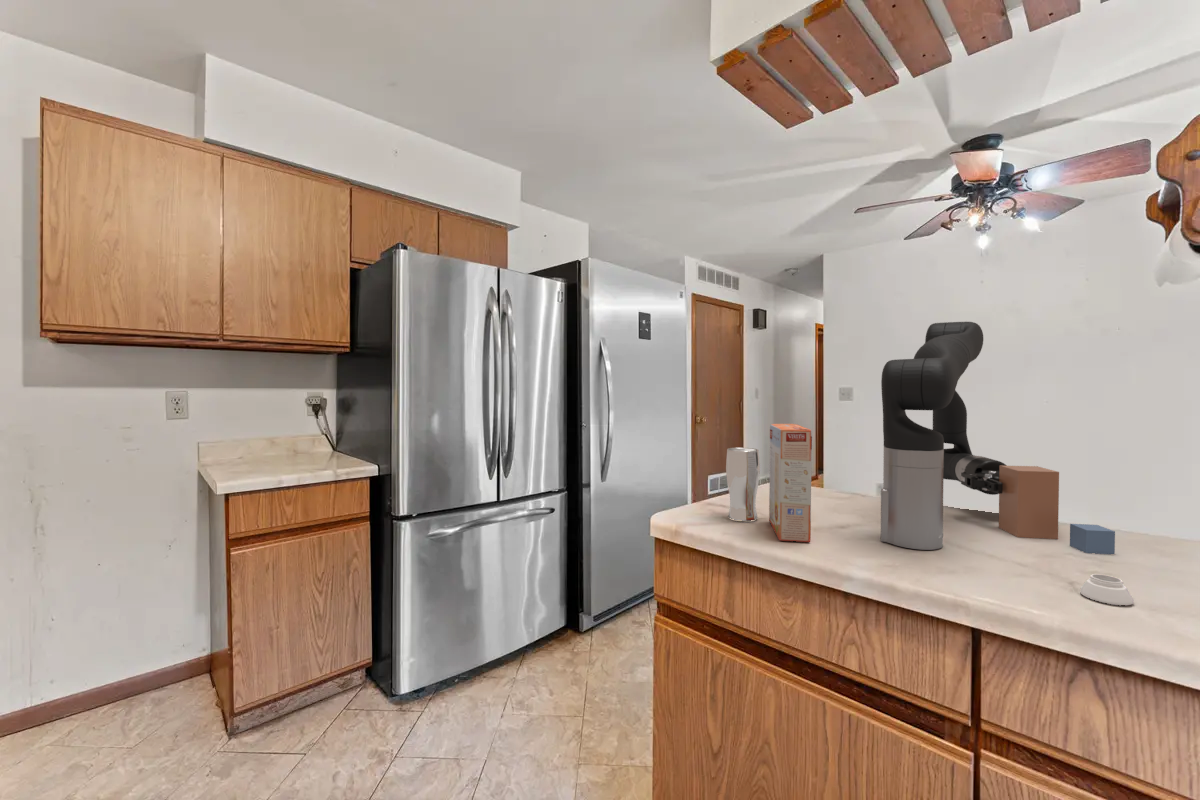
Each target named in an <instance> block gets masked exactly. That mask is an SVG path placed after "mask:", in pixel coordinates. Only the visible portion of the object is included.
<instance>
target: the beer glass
mask: <svg viewBox="0 0 1200 800" xmlns="http://www.w3.org/2000/svg"><path fill="white" fill-rule="evenodd" d="M759 453H760V452H759V449H757V448H750V447H730V448H729V447H728V448H727V449H726V463H725V464H726V465H725V471H726V473H725V475H726V483H727V488H728V493H729V502H730V503H729V508H728V509H729V510H728V516H727V517H729V518H731V519H734V520H742V521H751V520H755V519H757V518H759V517H758V512H757V507H756V501H757V494H758V489H759V482H760V471H761V470H760V468H761V467H760V466H761V465H760V464H761V463H760V455H759ZM729 518H728V519H729ZM757 520H758V519H757Z"/></svg>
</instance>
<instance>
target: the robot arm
mask: <svg viewBox="0 0 1200 800" xmlns="http://www.w3.org/2000/svg"><path fill="white" fill-rule="evenodd" d="M983 345H984V333H983V329H982V327H981V326H980V325H979V324H978V323H976V322H973V321H949V322H948V321H947V322H945V321H944V322H935V323H931V324H930V325H929V326H928V328H927V330H926V334H925V339H924V343H923V345H921V346H920V347H919V349H918V350H917V351H916V352H915V354H914V357H913V358H907V359H906V358H904V359H902V358H900V359H891V360H888V361H887V362H886V363H885V364H884V366H883V368H882V371H881V383H880V384H881V402H882V403H881V404H882V431H883V473H882V474H883V475H882V476H883V479H882V480H883V483H882V484H883V485H882V486H883V487H882V488H881V491H880V542H884V543H888V544H892V545H894V546H896V547H897V546H898V547H902V548H906V549H913V550H923V551H929V550H930V551H931V550H939V549H941V548H943V547H944V542H943V541H944V540H943V539H944V480H950V481H956V482H959V483H960V485H962V486H964V487H967V488H969V489H971V490H975V491H979V492H980V493H983V494H986V495H989V496H991V495H992V496H993V495H994V496H996V495H999V493H1000V494H1002V492H1003V484H1002V482H999V466H1000V465H1001V466H1008V465H1007V464H1005V463H1004V462H1002V461H1000V460H996V459H992V458H989V457H986V456H982V455H975V454H973V453H972V449H971V447H970V443H969V439H968V433H967V432H968V431H967V429H968V425H967V424H968V411H967V407H966V404H965V402H964V400H963V398H962V397H961V395H960V394H959V392H958V391H957V390H956V389H957V386H958V383H959V380H960V378H961V377H962V376H963V374H964V373H965V372H966V370H967V369H968V367H969V364H970V363H973V361H975V360H976V359H977V358H978V357H979V356H980V353H981V351H982V349H983ZM907 411H932V428H929V427H926V426H923V425H920V424H918V423H917V422H915V421H913V420H912V419H910V417H908V416H907V413H906V412H907ZM944 444H950V445H953V448H950V447H949V448H945V445H944Z"/></svg>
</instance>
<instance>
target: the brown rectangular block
mask: <svg viewBox="0 0 1200 800" xmlns="http://www.w3.org/2000/svg"><path fill="white" fill-rule="evenodd" d="M999 482H1002V484H1003V492H1002V494H1000V493H999V494H998V529H1000V530H1003V531H1005V532H1006V533H1008V534H1010V535H1012V536H1015V537H1016V538H1026V539H1027V538H1029V539H1049V540H1058V539H1059V504H1060V503H1059V502H1060V501H1059V497H1060V492H1059V491H1060V471H1056V470H1054V469H1049V468H1045V467H1042V466H1037V465H1036V466H1035V465H1007V466H1001V465H1000V466H999Z"/></svg>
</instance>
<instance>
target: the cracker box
mask: <svg viewBox="0 0 1200 800" xmlns="http://www.w3.org/2000/svg"><path fill="white" fill-rule="evenodd" d="M812 444H813V430H812V429H810V428H808V427H805V426H802V425H799V424H798V423H797V424H796V423H771V424H769V500H768V501H769V506H768V507H769V508H768V510H769V511H768V513H769V514H768V521H770V522H769V523H771V524H770V526H771V527H772V530H773V531H774V534H776V537H777V539H778V540H779V541H781V542H782V541H783V542H793V541H796V542H797V543H811V535H812V534H811V530H812V529H811V528H812V526H811V525H812V521H811V520H812V460H813V459H812V454H813V453H812V452H813V451H812V448H813V445H812Z"/></svg>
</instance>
